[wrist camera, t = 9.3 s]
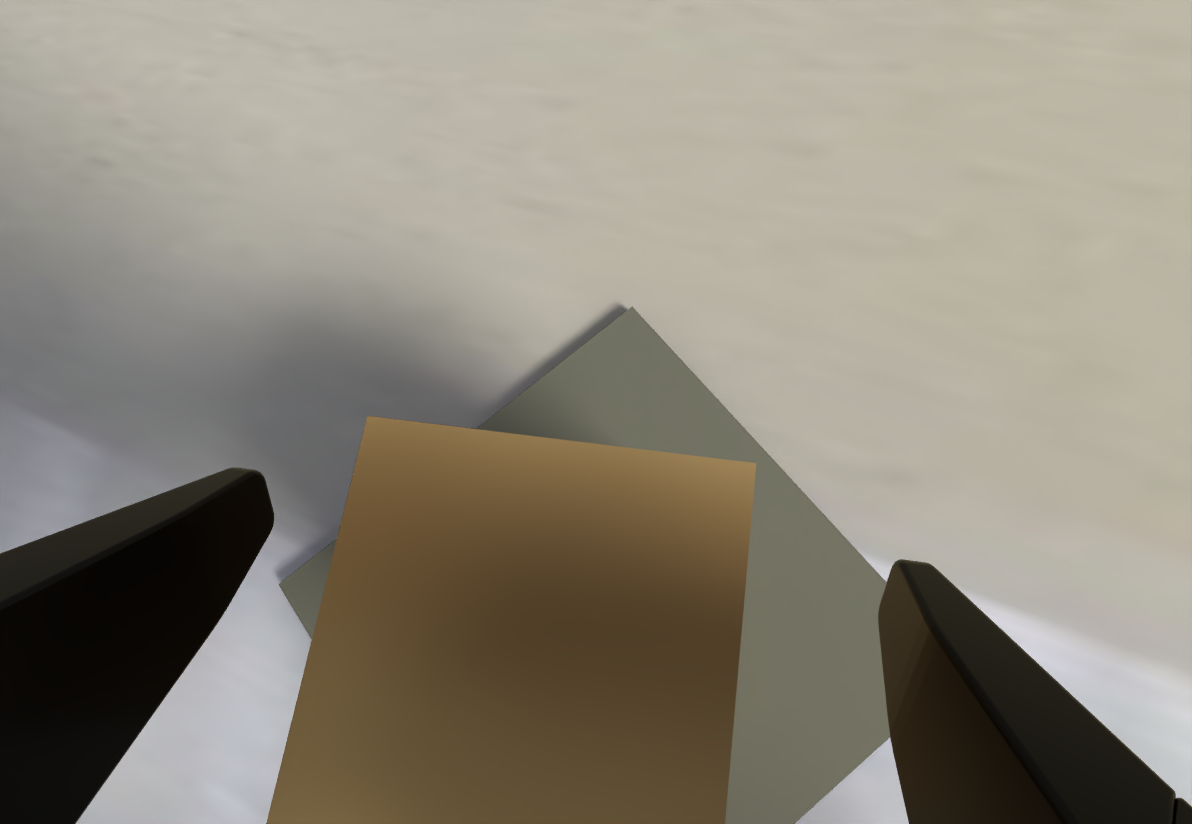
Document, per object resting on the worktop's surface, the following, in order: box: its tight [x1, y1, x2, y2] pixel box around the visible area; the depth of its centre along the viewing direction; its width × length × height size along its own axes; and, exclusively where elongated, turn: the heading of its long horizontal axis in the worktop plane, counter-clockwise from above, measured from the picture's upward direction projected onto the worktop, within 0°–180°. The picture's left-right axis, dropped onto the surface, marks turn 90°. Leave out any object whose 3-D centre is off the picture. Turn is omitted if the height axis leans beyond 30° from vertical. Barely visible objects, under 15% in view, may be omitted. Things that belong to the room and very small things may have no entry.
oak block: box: [266, 416, 756, 824], centre depth 12 cm, size 5×5×9 cm
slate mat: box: [279, 307, 890, 824], centre depth 16 cm, size 12×12×1 cm
